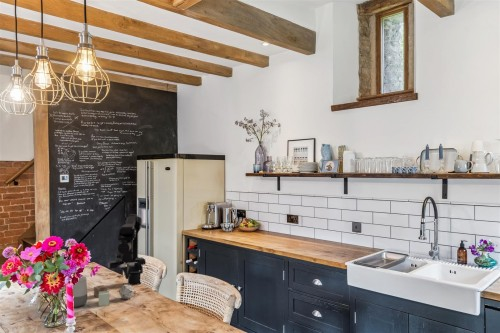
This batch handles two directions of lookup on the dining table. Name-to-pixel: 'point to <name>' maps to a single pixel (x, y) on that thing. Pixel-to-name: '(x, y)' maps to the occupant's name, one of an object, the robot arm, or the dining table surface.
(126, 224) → the robot arm
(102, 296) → the sage block
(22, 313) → the dining table surface
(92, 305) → the dining table surface
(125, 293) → the game die
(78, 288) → the smart speaker
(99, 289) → the walnut cube
